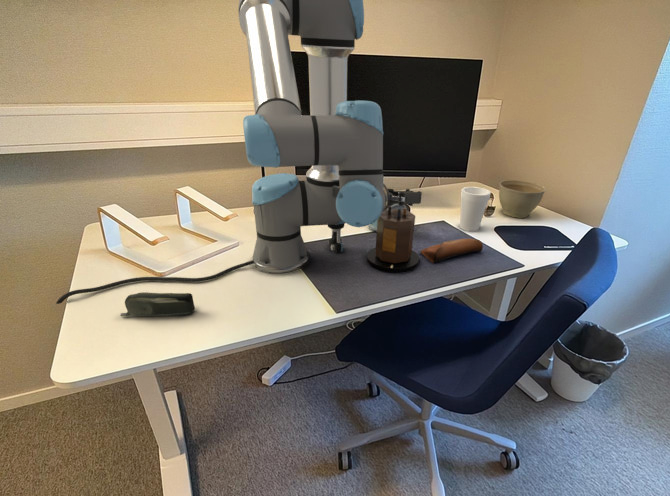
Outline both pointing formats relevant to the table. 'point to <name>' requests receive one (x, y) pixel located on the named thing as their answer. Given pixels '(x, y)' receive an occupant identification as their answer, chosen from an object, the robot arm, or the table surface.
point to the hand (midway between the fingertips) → (379, 192)
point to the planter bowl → (519, 197)
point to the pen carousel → (395, 235)
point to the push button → (336, 238)
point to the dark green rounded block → (159, 304)
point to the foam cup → (473, 207)
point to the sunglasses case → (451, 249)
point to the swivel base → (392, 267)
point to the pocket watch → (395, 206)
